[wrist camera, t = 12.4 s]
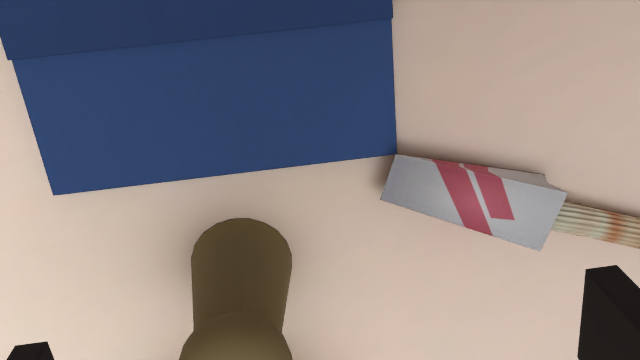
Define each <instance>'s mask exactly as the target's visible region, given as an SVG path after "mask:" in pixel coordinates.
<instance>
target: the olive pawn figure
mask: <svg viewBox="0 0 640 360" xmlns="http://www.w3.org/2000/svg"><path fill="white" fill-rule="evenodd" d="M191 268H192V294H193V321H194V331H193V333H192V334H191V335H190V336H189V338H188V339H187V341H186V342H185V344H184V346H183V348H182V352H181V355H180V358H179V360H292V356H291V352H290V350H289V347H288V345H287V343H286V340H285V338H284V336H283V334H282V326H283V320H284V314H285V307H286V301H287V294H288V288H289V281H290V275H291V268H292V254H291V252H290V249H289V247H288V244H287V242H286V240H285V239H284V238H283V237H282V236H281V235H280V233H279V232H278V231H277V230H275V229H274V228H272V227H270V226H269V225H267V224H265V223H264V222H260V221H256V220H252V219H230V220H227V221H224V222H221V223H218V224H216V225H214V226H213V227H211V228H210V229H208V230H207V231H206V232H204V233H203V235H202V236H201V237H200V239H199V240H198V241H197V243H196V244H195V246H194V250H193V253H192V257H191Z"/></svg>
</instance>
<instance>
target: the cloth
mask: <svg viewBox="0 0 640 360" xmlns="http://www.w3.org/2000/svg"><path fill="white" fill-rule="evenodd" d="M392 18H393V5H392V0H0V37H1V40H2V43H3V47H4V50H5V53H6V56H7V60H12V62H13V65H14V69H15V72H16V75H17V79H18V82H19V85H20V88H21V92H22V95H23V98H24V101H25V105H26V108H27V111H28V114H29V118H30V121H31V124H32V127H33V131H34V134H35V137H36V140H37V144H38V147H39V150H40V154H41V157H42V160H43V163H44V167H45V170H46V173H47V176H48V180H49V183H50V186H51V189H52V193H53V195H62V194H70V193H78V192H86V191H95V190H103V189H111V188H120V187H128V186H136V185H145V184H153V183H161V182H170V181H178V180H186V179H195V178H203V177H211V176H219V175H228V174H236V173H244V172H253V171H261V170H269V169H278V168H286V167H294V166H303V165H311V164H319V163H328V162H336V161H344V160H352V159H361V158H369V157H377V156H386V155H394V154H397V143H396V119H395V95H394V71H393V48H392V24H391V19H392Z"/></svg>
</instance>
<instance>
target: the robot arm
mask: <svg viewBox="0 0 640 360" xmlns="http://www.w3.org/2000/svg"><path fill="white" fill-rule="evenodd" d="M578 359H579V360H640V288H639V287H638V286H637V285H636V284H635V283H634V282H633V281H632V280H631V279H630V278H629V277H628V276H627V275H626V274H625V273H624V272H623V271H622V270H621V269H620V268H619V267H618V266H617V265H614V266H607V267H599V268H592V269H586V273H585V284H584V294H583V305H582V315H581V326H580V336H579V347H578ZM7 360H54V358H53V355H52V353H51V350H50V348H49V345H48V342H40V343H33V344H25V345H18V346H15V347H14V349H13V350H12V352H11V353H10V355H9V357H8V358H7Z"/></svg>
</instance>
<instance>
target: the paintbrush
mask: <svg viewBox="0 0 640 360" xmlns="http://www.w3.org/2000/svg"><path fill="white" fill-rule="evenodd" d="M567 194H568V192H565V191H563V190H561V189H559V188H557V187H555V186H553V185H551V184H549V183H547V181H546V178H545V175H543V174H536V173H529V172H521V171H514V170H507V169H500V168H493V167H485V166H478V165H471V164H464V163H457V162H449V161H442V160H435V159H428V158H420V157H413V156H406V155H399V154H396V155H395V158H394V161H393V163H392V166H391V169H390V172H389V175H388V178H387V181H386V184H385V187H384V189H383V192H382V195H381V198H380V200H383V201H386V202H389V203H392V204H395V205H398V206H401V207H404V208H407V209H411V210H414V211H417V212H420V213H423V214H426V215H429V216H432V217H435V218H438V219H441V220H445V221H448V222H451V223H454V224H457V225H460V226H463V227H466V228H469V229H472V230H475V231H479V232H482V233H485V234H488V235H491V236H494V237H497V238H500V239H503V240H506V241H509V242H512V243H516V244H519V245H522V246H525V247H528V248H531V249H534V250H537V251H541V249H542V247H543V245H544V243H545V240H546V238H547V236H548V234H549V232H550V230H554V231H559V232H564V233H569V234H574V235H578V236H583V237H588V238H593V239H598V240H603V241H608V242H612V243H617V244H622V245H626V246H631V247H635V248H640V218H637V217H632V216H627V215H622V214H618V213H613V212H609V211H605V210H600V209H596V208H591V207H586V206H582V205H577V204H573V203H568V202H564V201H565V199H566V197H567Z"/></svg>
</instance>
